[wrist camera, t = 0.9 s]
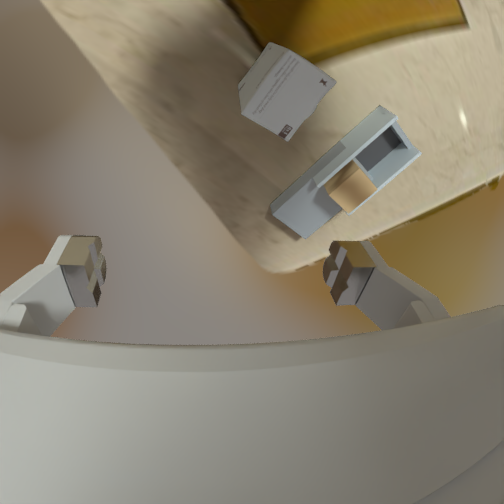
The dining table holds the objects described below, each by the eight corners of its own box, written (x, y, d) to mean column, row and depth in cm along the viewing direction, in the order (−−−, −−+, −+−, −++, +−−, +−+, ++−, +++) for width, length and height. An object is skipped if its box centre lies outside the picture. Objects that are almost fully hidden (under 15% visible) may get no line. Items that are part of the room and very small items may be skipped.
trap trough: (379, 105, 37) (396, 115, 33) (405, 140, 41) (421, 153, 37) (270, 204, 49) (273, 224, 45) (302, 228, 53) (308, 248, 49)
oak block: (350, 156, 40) (359, 168, 37) (367, 176, 43) (377, 189, 40) (321, 181, 43) (328, 195, 40) (340, 199, 46) (348, 214, 43)
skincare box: (269, 41, 31) (288, 42, 20) (305, 64, 33) (341, 80, 22) (235, 87, 36) (236, 113, 25) (271, 108, 38) (289, 144, 27)
